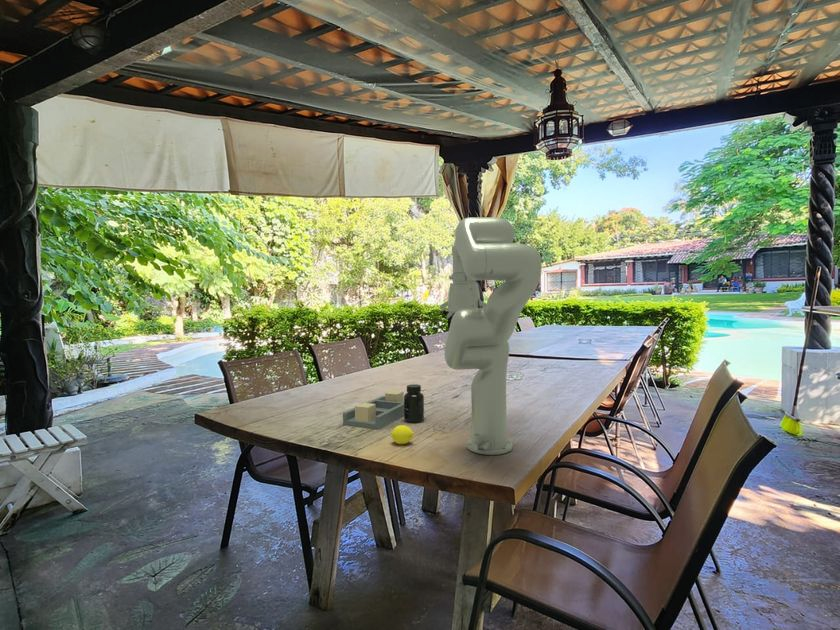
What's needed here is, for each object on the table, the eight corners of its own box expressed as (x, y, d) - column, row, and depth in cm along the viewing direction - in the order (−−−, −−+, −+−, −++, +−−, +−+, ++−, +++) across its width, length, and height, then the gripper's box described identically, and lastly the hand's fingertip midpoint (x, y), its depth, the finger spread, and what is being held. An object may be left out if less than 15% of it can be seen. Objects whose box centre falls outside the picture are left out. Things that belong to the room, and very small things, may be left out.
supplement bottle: (400, 422, 149) (400, 387, 149) (408, 417, 156) (408, 383, 155) (420, 424, 147) (419, 388, 146) (427, 418, 153) (426, 384, 152)
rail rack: (379, 429, 142) (378, 409, 142) (343, 424, 148) (342, 405, 148) (415, 409, 165) (414, 392, 165) (382, 406, 171) (382, 389, 171)
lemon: (389, 447, 127) (386, 428, 127) (395, 441, 132) (392, 423, 132) (412, 446, 125) (409, 427, 124) (418, 440, 130) (415, 421, 130)
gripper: (435, 279, 146) (436, 331, 148) (485, 278, 138) (485, 332, 139) (445, 279, 153) (445, 328, 154) (493, 278, 145) (493, 330, 146)
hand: (464, 330), depth 147 cm, fingers open, 9 cm apart
